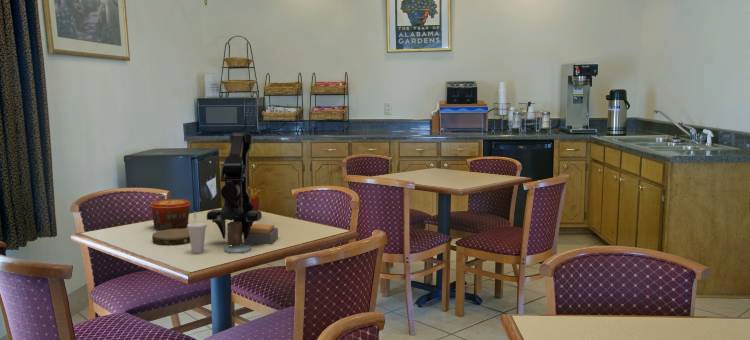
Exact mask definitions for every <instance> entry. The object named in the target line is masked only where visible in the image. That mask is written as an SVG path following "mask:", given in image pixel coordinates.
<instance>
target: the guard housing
mask: <svg viewBox="0 0 750 340" xmlns="http://www.w3.org/2000/svg"><path fill="white" fill-rule="evenodd" d="M277 238H278V239H279V229H278V227H274V229H273V230H272V231H270V232H269V233H248V236H247V239H245V238H244V237H243V245H260V244H271V245H272V244H274V242H276V241H277V240H278V239H277ZM276 239H277V240H276ZM275 240H276V241H275Z"/></svg>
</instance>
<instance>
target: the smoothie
mask: <svg viewBox="0 0 750 340" xmlns="http://www.w3.org/2000/svg"><path fill="white" fill-rule="evenodd" d="M193 219H194V221H193V222H192V223H188V225H187V228H186V229H188V230H189V236H190V242H191V243H190V248H191V253H192V254H202V253H204V248H205V237H206V228H207V226H208V225H207V223H205V222H197V212H196V211H194V212H193Z"/></svg>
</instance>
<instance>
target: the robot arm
mask: <svg viewBox="0 0 750 340" xmlns="http://www.w3.org/2000/svg"><path fill="white" fill-rule="evenodd" d="M253 143H254V138H253V134H252V133H250V132H244V131H233V132H231V133H229V144H230V149H229V155H228V157H226V158H224V162H223V164H222V165H221V173H220V182H224V185H223V186H222V188H221V190H220V196H221V197H222V199H223V200H224V201H223V202H224V204H223V205H224V206H222V207H221V209H211V210H209V211H208V212H207V213H206V220H207V221H211V222H212V223H215V224H216V225H217V228H218V229H219V230H220V231H219V232H220V234H221V236H222V238H223V239H226V236H227V233H226V232H227V226H226V221H227V220H229V221H232V222H242V234H243V239H244V238H245V239H247V236H248V233H249V230H250V228H251V226H252V225H254V222H258V221H259V220H261V219H262V217H263V215H262V211H260V210H258V211H254V205H253V204H252V202H251V198H250V193H249V194H248V193H247V188H248V155H249V153H250V151H251V150H252V145H253Z"/></svg>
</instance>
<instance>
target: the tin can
mask: <svg viewBox="0 0 750 340" xmlns="http://www.w3.org/2000/svg"><path fill="white" fill-rule="evenodd" d="M151 236H152V243H153V244H154V245H158V246H166V247H167V246H168V247H169V246H181V245H184V246H185V245H188V244H191V242H190V236H189V230H188V228H185V229H168V230H162V231H159V230H157V231H156V232H153V233H152V235H151Z"/></svg>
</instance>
